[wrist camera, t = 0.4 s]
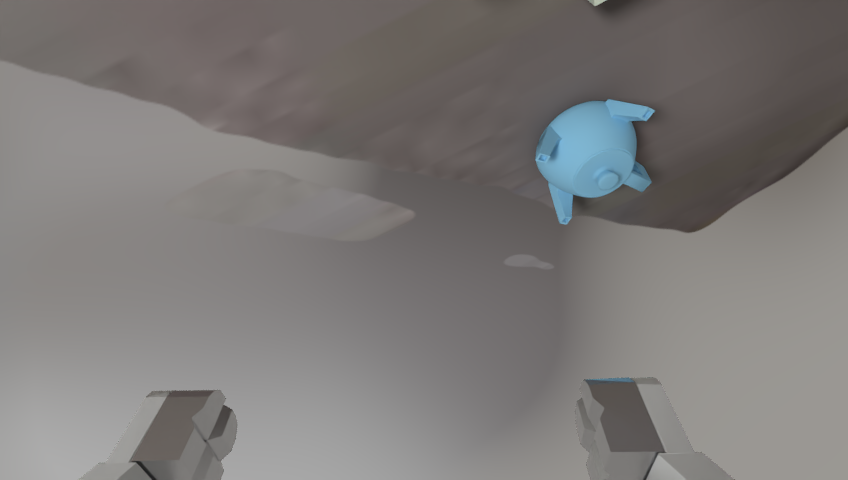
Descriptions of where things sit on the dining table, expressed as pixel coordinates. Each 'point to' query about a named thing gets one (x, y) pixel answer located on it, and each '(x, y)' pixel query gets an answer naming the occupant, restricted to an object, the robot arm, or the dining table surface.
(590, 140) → the teapot
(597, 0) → the sage cube
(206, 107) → the dining table surface
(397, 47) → the dining table surface
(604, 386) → the robot arm
